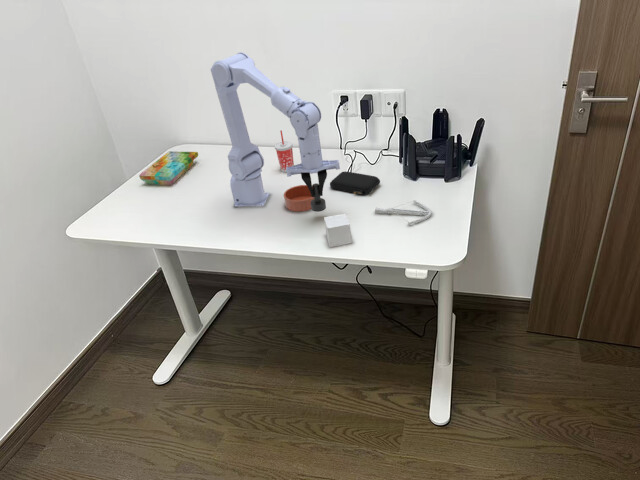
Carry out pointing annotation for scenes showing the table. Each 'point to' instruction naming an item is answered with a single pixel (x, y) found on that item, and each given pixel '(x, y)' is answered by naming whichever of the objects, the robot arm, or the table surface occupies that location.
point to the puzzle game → (168, 168)
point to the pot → (298, 198)
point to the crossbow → (407, 212)
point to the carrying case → (355, 183)
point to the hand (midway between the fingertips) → (316, 195)
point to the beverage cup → (284, 154)
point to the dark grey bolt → (317, 200)
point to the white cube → (338, 230)
